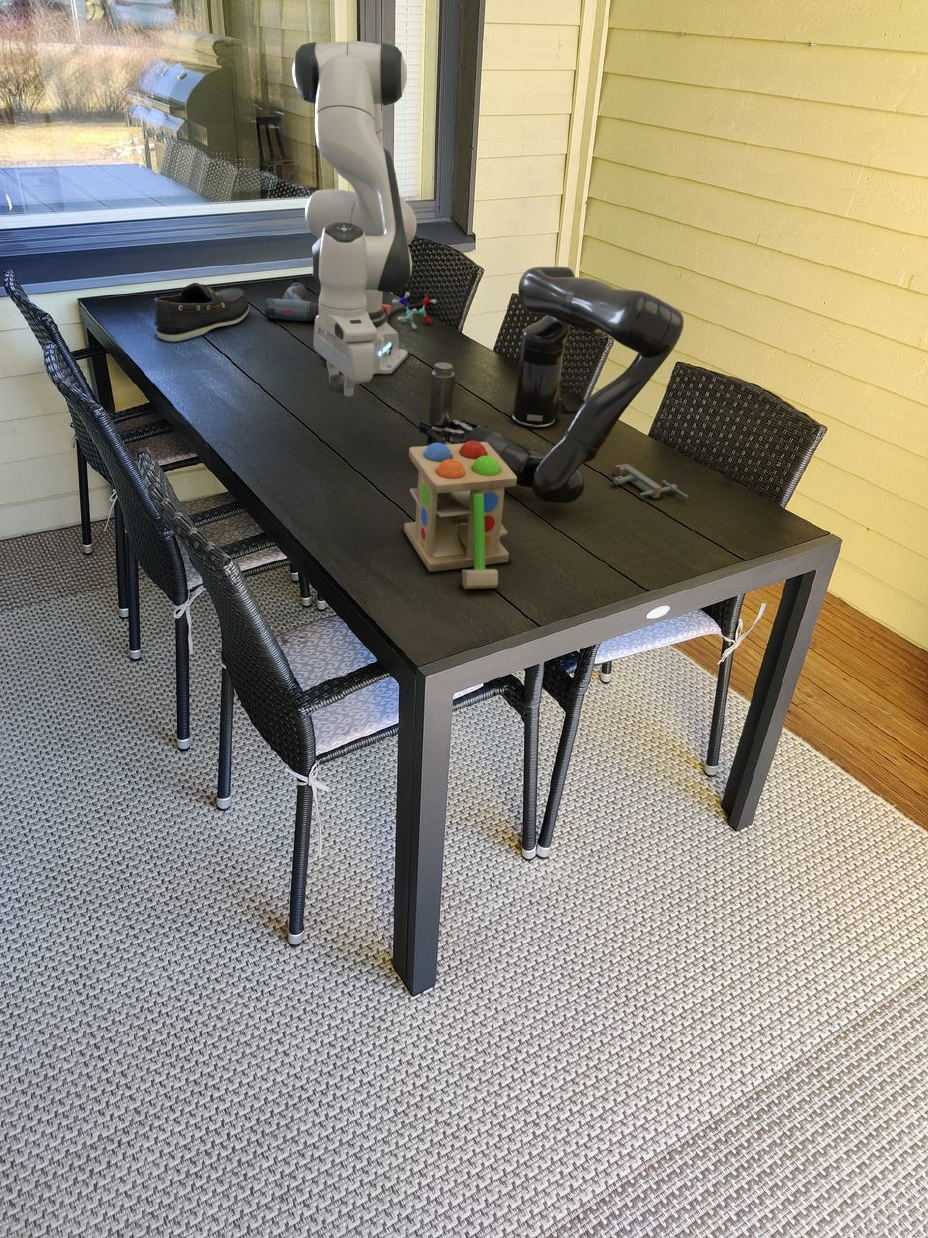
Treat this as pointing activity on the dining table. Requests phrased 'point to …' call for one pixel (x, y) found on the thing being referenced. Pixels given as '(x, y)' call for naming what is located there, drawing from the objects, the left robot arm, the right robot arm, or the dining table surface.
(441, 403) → the dark grey cylindrical bottle
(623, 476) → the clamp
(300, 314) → the power drill
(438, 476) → the pounding bench toy
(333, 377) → the lid
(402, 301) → the molecular model
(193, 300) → the boat shoe
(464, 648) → the dining table surface
